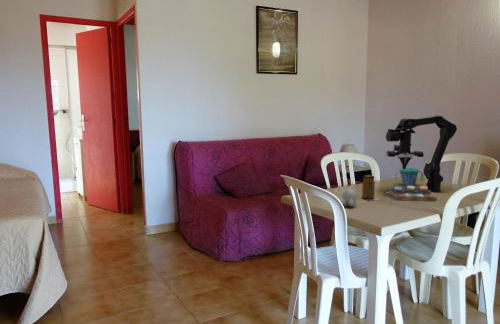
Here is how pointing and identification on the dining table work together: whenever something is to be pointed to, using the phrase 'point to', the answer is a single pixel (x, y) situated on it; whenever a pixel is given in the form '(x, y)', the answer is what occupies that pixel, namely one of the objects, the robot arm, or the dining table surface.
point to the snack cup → (409, 176)
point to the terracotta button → (423, 188)
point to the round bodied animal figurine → (349, 197)
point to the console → (412, 195)
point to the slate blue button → (397, 188)
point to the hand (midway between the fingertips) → (403, 169)
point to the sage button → (410, 187)
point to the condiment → (368, 188)
